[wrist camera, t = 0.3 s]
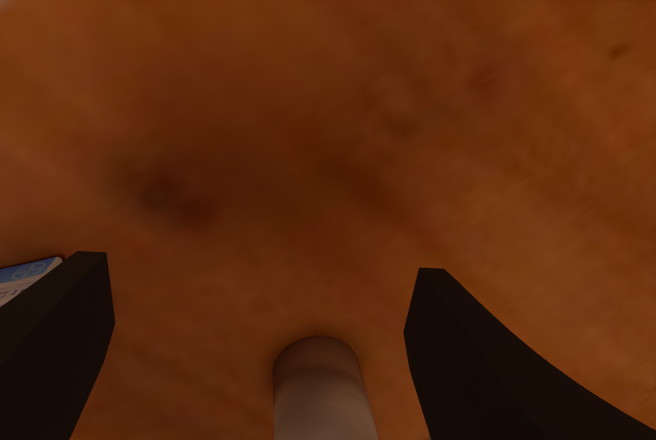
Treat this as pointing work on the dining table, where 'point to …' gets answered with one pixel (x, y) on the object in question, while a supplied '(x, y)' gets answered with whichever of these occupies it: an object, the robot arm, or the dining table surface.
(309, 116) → the dining table surface
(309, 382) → the walnut cylinder
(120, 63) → the dining table surface
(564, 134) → the dining table surface
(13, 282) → the medicine box
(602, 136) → the dining table surface
